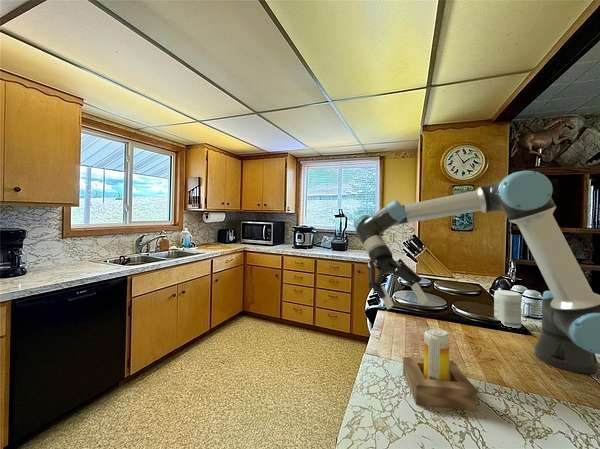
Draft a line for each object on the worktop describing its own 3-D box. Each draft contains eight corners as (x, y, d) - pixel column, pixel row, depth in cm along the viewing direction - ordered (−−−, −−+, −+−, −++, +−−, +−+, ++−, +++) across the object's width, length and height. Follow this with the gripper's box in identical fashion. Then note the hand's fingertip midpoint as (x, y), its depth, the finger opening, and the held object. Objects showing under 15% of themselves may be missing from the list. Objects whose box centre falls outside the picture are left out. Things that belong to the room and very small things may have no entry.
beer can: (449, 383, 74) (449, 330, 74) (447, 395, 69) (448, 338, 69) (425, 376, 78) (425, 325, 78) (421, 387, 73) (422, 332, 72)
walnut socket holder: (452, 377, 79) (452, 360, 79) (476, 410, 66) (476, 390, 65) (403, 373, 81) (403, 356, 81) (416, 404, 68) (416, 384, 67)
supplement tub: (524, 326, 118) (525, 293, 118) (516, 331, 113) (516, 296, 113) (498, 319, 127) (499, 288, 126) (489, 323, 121) (490, 291, 121)
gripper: (399, 255, 104) (431, 306, 90) (344, 258, 95) (369, 315, 81) (410, 243, 99) (445, 294, 85) (352, 245, 90) (380, 303, 76)
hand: (408, 304), depth 83 cm, fingers open, 13 cm apart
